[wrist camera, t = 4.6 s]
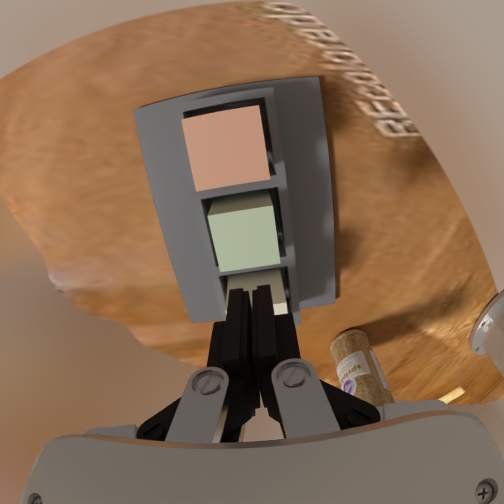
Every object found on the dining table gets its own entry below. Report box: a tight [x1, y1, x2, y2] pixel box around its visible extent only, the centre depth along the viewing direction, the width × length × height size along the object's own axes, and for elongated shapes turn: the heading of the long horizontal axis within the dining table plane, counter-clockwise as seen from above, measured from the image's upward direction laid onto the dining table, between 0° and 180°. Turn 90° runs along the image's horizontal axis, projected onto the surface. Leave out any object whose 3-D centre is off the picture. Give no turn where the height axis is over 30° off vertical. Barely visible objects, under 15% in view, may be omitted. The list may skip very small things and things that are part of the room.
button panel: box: [133, 77, 335, 325], centre depth 22 cm, size 14×20×4 cm
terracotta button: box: [182, 105, 270, 192], centre depth 16 cm, size 4×4×4 cm
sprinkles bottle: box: [330, 329, 395, 407], centre depth 24 cm, size 5×5×13 cm
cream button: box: [225, 268, 287, 315], centre depth 22 cm, size 4×4×4 cm
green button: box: [208, 188, 280, 272], centre depth 20 cm, size 4×4×4 cm
